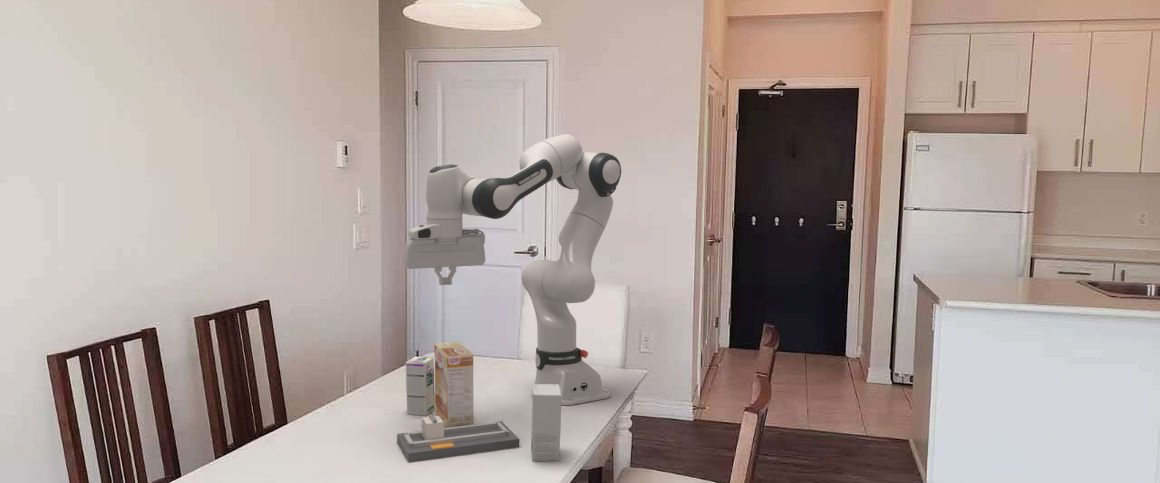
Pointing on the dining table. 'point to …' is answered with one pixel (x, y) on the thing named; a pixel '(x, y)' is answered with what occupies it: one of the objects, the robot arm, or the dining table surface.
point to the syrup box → (420, 386)
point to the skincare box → (546, 422)
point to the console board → (458, 441)
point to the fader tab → (432, 427)
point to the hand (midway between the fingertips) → (445, 284)
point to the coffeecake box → (453, 384)
